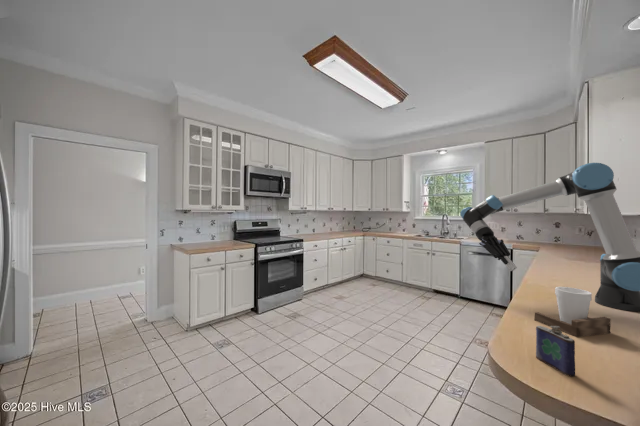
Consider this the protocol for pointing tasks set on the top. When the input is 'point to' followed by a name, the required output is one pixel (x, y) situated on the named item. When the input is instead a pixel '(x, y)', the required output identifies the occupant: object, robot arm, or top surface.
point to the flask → (556, 349)
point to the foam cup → (572, 303)
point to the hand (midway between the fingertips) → (513, 269)
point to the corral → (577, 325)
